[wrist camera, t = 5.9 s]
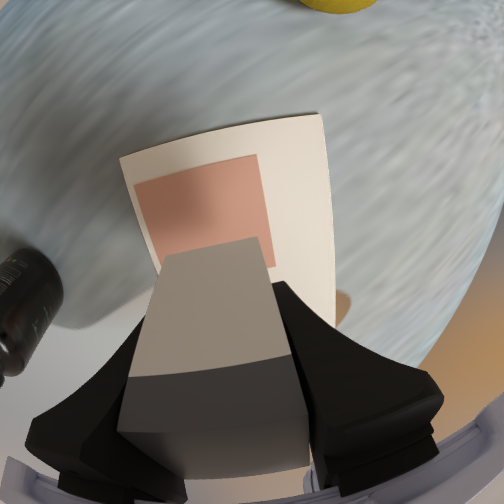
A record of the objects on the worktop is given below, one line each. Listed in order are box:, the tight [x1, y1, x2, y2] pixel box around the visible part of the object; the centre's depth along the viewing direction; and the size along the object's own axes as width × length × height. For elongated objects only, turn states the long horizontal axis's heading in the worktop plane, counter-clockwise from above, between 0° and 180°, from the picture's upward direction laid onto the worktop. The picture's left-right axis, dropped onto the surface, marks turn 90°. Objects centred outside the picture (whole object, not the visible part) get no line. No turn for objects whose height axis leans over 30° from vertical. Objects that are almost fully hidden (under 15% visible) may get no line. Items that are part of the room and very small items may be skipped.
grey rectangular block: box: [116, 236, 310, 479], centre depth 9 cm, size 4×4×8 cm
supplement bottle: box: [0, 249, 63, 388], centre depth 13 cm, size 7×7×12 cm
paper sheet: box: [119, 114, 335, 328], centre depth 19 cm, size 18×13×1 cm
